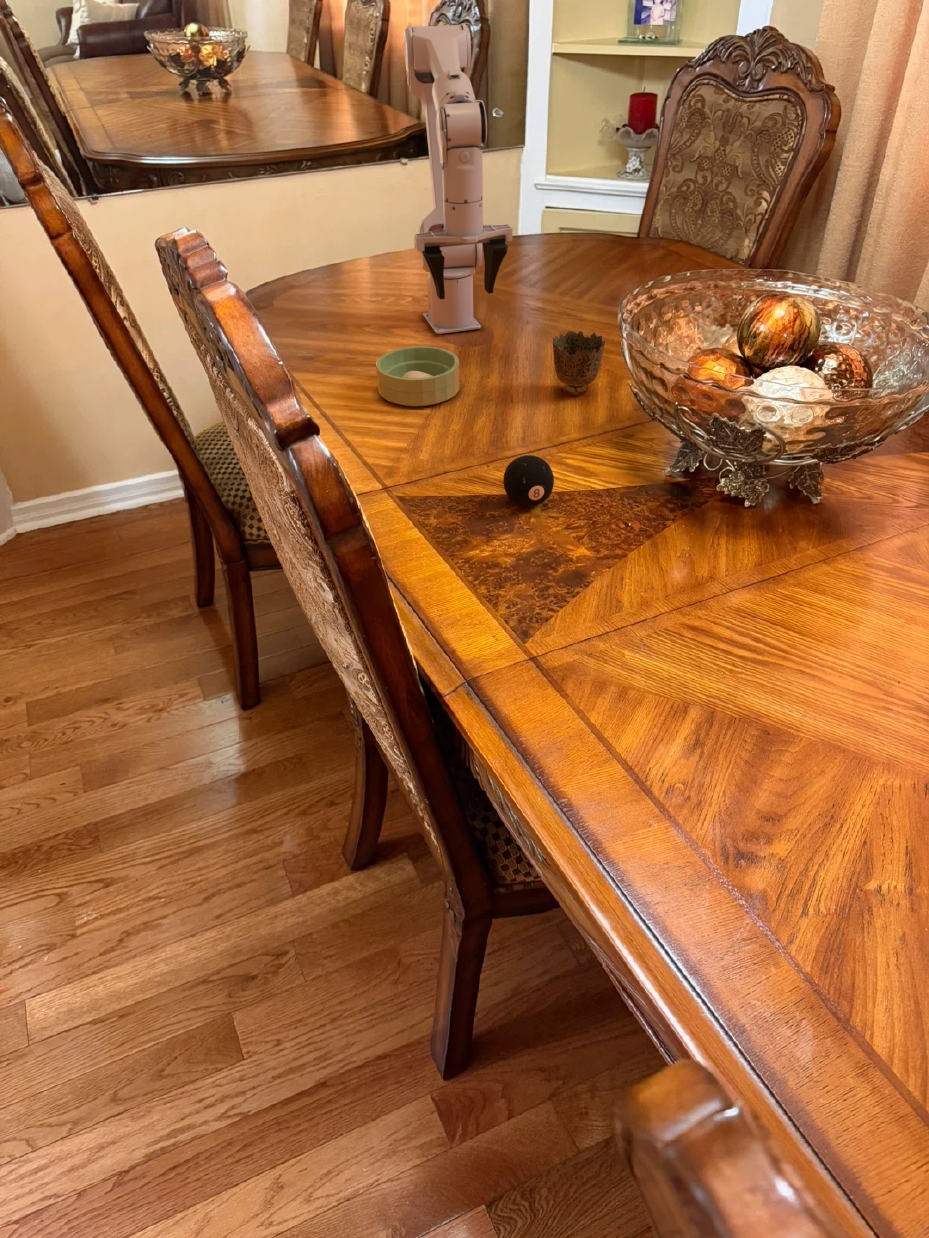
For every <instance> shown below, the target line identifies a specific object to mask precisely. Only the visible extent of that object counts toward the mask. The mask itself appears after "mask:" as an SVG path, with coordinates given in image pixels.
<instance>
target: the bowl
mask: <svg viewBox="0 0 929 1238" xmlns="http://www.w3.org/2000/svg"><path fill="white" fill-rule="evenodd" d="M375 371H376V372H375V373H376V374H375V375H376V384H377V392H378V394H379V396H380V397H381V398H383V399H385V400H386V401H388V402H391V403H393V404H397V405H401V406H406V407H427V406H432V405H436V404H439V403H443V402H445V401H448V400H450V399H451V398H453V397H455V396H456V395H457V394H458V392H459V391H460V387H461V385H460V384H461V382H460V380H461V379H460V378H461V376H460V359H459V358H458V355H456V353H454V352H452V351H450V350H448V349H445V348H442V347H438V346H429V345H412V346H405V347H399V348H396V349H393V350H390V351H388V352H386V353H383V354H382V355H380V357H379V358H377V359H376V364H375ZM409 371H419V372H423V373H426V374H429V375H432V376H433V377H426V378H403V377H402V376H403V375H404V374H405V373H407V372H409Z"/></svg>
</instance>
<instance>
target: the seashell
mask: <svg viewBox="0 0 929 1238" xmlns="http://www.w3.org/2000/svg"><path fill="white" fill-rule="evenodd" d="M402 377H403V378H426V377H433V376H432V375H429V374H426V373H423V372H419V371H409V372H407V373H405V374H404V375H403V376H402Z"/></svg>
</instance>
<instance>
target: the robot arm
mask: <svg viewBox="0 0 929 1238" xmlns="http://www.w3.org/2000/svg"><path fill="white" fill-rule="evenodd" d="M403 53H404V64H405V73H406V81H407V83H406V84H407V86H408V89H409V94H411V95H413V97H416V98H418V99H419V100H420V102H421V106H422V110H423V112H424V117H425V126H426V137H427V138H426V139H427V147H428V158H429V159H428V160H429V167H430V168H429V170H430V180H431V192H432V201H433V209H432V210H431V211H430V212H429V213H428V214H427V215H426V216H424V218H422V220H421V222H420V225H419V228H418V229H419V230H418V231H419V233H414V234H413V240H414V249H415V250H416V251H417V252H419V257H420V265H421V268H422V269H423V270H424V271H425V273H428V275H427V278H426V279H427V280H426V285H427V286H426V287H427V307H428V312H424V313H423V314H422V316H423V318H424V319H425V321H426V322H427V323H428V325H429V326H430V328H431V329H432V331H433V332H434V333H435V334H436V335H445V334H451V333H459V332H466V331H473V330H480V329H481V328H482V325H481V324H480V323H479V321H478V320H477V319H476V318H475V317H474V275H475V274H476V270H477V269H479V268H480V267H481V265H482V263H483V262H484V275H483V276H484V277H483V279H484V280H483V284H484V285H483V286H484V291H485V292H486V293H487V294H493V293H494V288H495V284H496V280H497V276H498V273H499V270H500V267H501V266H502V263H503V261H504V259H505V257H506V255H507V253H508V248H509V247H508V244H507V243H508V242H513V227H512V226H511V225H510V224H484V195H483V193H484V192H483V191H484V189H483V186H484V184H483V183H484V181H483V176H484V175H483V168H484V167H483V165H484V163H483V150H482V149H485V148H486V145H487V140H488V139H487V137H488V120H487V113H486V112H487V111H486V107H485V103H484V101H483V100H482V99H476V96H475V92H474V88H473V86H472V85H473V84H472V83H471V79H470V78H469V74H470V67H471V62H472V61H471V60H472V59H471V58H472V42H471V34H470V29H469V27H468V26H467V25H466V23H465V22H464V23H460V24H447V25H424V26H423V25H422V26H412V25H406V28H405V29H404V31H403ZM483 260H484V261H483Z"/></svg>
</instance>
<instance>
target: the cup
mask: <svg viewBox="0 0 929 1238" xmlns="http://www.w3.org/2000/svg"><path fill="white" fill-rule="evenodd" d="M552 339H553V340H552V350H553V363H554V365H553V366H554V372H555V374H556V375H555V376H556V377H557V379H558V380H559V381H560V383H562V384H563V387H562V388H563V390H564V392H565V393H566V394H567V395H569V396H573V397H578V396H583V395H585V394H586V393H587V392H588V390H589V385H590V384H591V383H593V382H594V381H595V380H596V378H597V376H598V375H599V372H600V368H601V365H602V364H601V363H602V360H603V359H602V358H603V354H604V348H605V345H606V341H605V340H604V338H603V335H598V336H597V333H596V332H593V333H591V334H590V336H587V335H584V331H582V330H579V331H578V332H577V333H576V332H575V331H573V330H569V331H567V333H566V334H565V335H564V334H563V333H560V334H559V336H557V335H556V336H554V337H553V338H552Z"/></svg>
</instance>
